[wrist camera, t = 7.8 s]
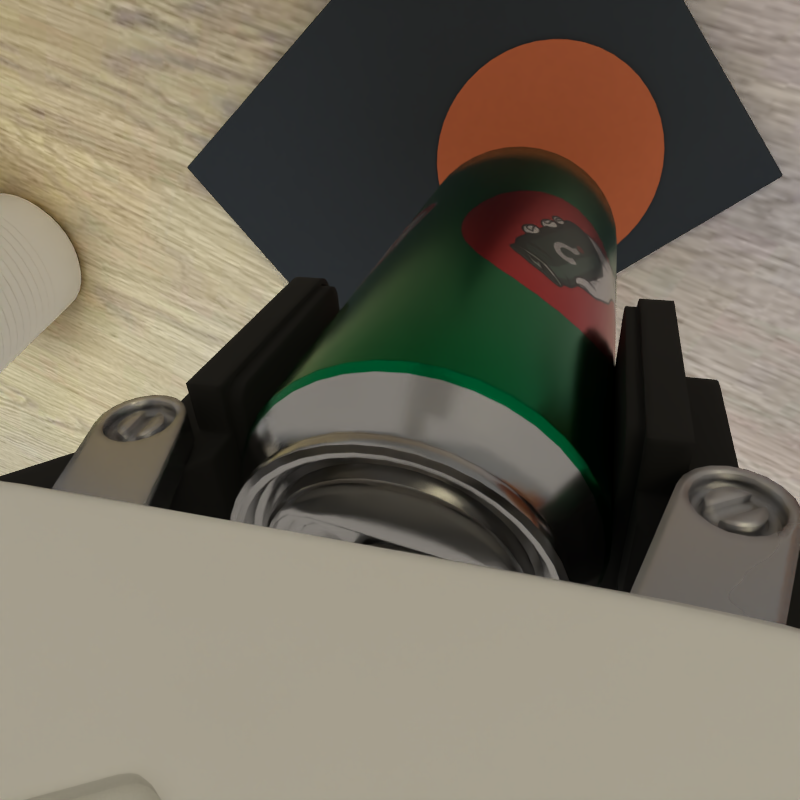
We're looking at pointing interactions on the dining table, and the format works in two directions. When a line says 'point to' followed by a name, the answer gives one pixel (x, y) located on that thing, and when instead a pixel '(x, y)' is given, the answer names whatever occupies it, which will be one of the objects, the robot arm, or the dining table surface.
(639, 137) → the placemat
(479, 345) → the soda can
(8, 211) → the cup
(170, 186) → the dining table surface
